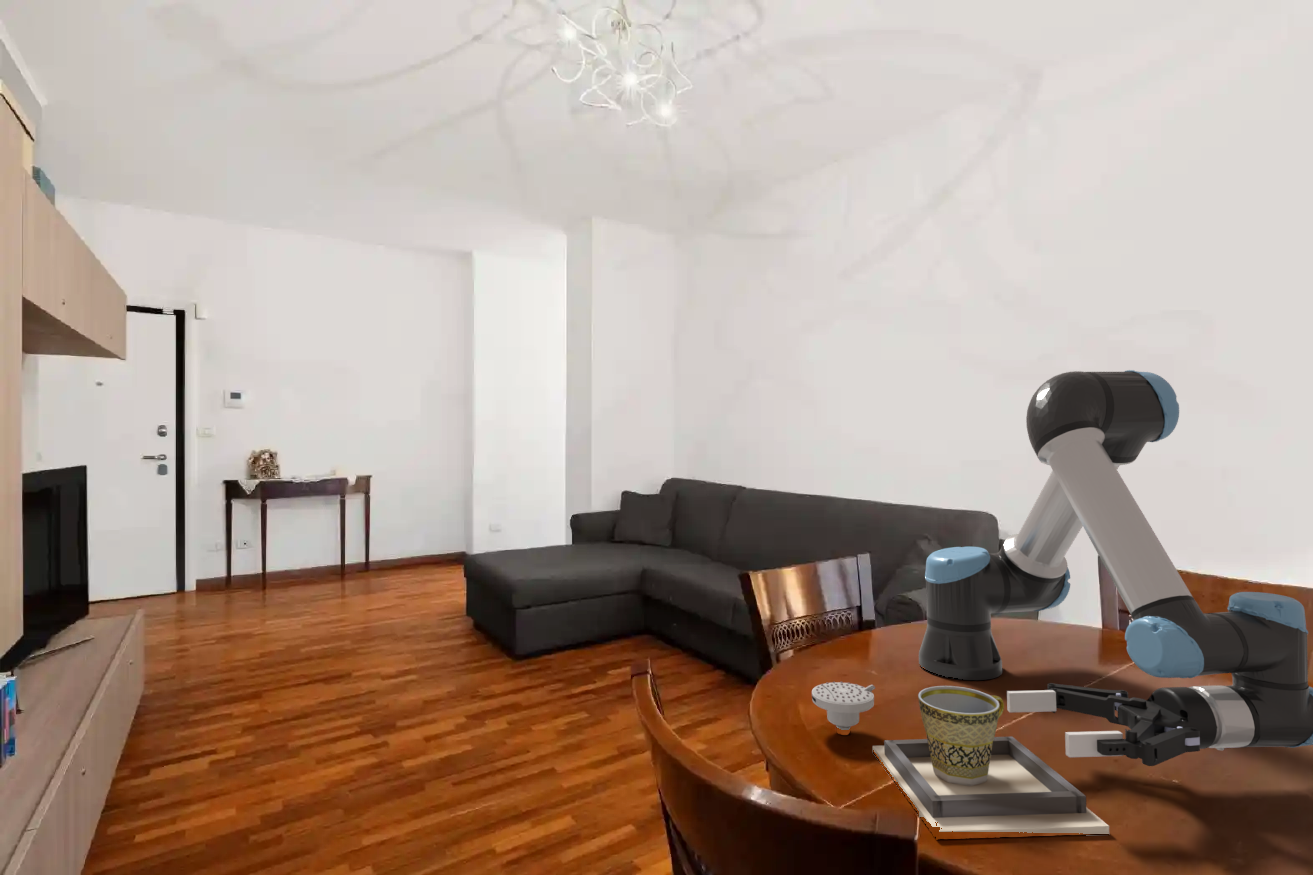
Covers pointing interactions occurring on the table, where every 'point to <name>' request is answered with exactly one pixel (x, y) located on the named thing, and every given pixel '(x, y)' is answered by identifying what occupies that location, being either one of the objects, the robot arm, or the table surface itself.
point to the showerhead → (843, 702)
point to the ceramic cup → (960, 731)
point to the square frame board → (991, 792)
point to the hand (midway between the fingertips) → (1035, 721)
